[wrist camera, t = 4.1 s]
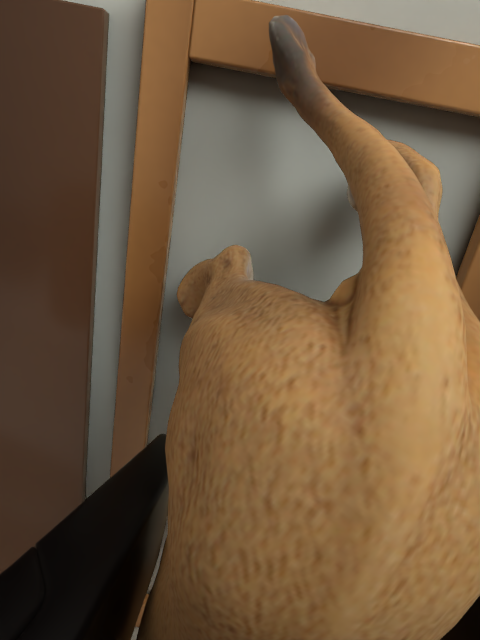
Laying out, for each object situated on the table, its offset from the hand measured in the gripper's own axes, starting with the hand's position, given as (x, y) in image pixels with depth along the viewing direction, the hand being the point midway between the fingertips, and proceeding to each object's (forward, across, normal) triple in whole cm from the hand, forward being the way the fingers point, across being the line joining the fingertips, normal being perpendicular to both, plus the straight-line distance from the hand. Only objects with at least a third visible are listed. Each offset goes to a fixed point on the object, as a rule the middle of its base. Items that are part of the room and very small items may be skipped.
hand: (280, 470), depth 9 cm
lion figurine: (+2, 0, 0) cm, 2 cm away
